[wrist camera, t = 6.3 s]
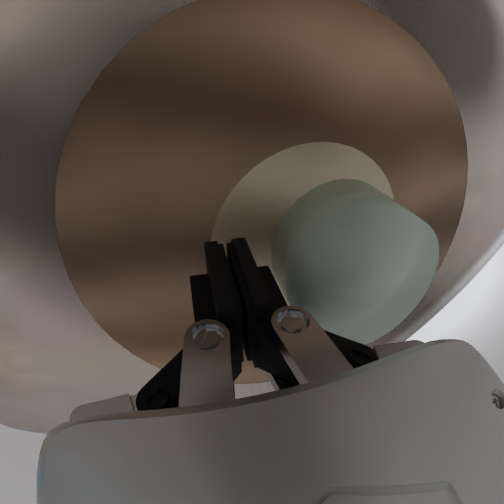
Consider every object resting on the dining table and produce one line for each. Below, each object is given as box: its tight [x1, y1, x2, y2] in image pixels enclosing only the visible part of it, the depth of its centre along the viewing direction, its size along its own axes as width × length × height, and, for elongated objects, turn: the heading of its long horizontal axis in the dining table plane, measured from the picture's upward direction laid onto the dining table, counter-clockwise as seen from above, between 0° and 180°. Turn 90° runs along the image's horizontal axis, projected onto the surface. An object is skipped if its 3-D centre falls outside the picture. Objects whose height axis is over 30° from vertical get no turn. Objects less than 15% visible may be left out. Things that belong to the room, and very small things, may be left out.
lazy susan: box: [55, 0, 468, 384], centre depth 13 cm, size 24×24×4 cm
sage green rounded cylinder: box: [270, 179, 439, 345], centre depth 12 cm, size 7×7×4 cm
